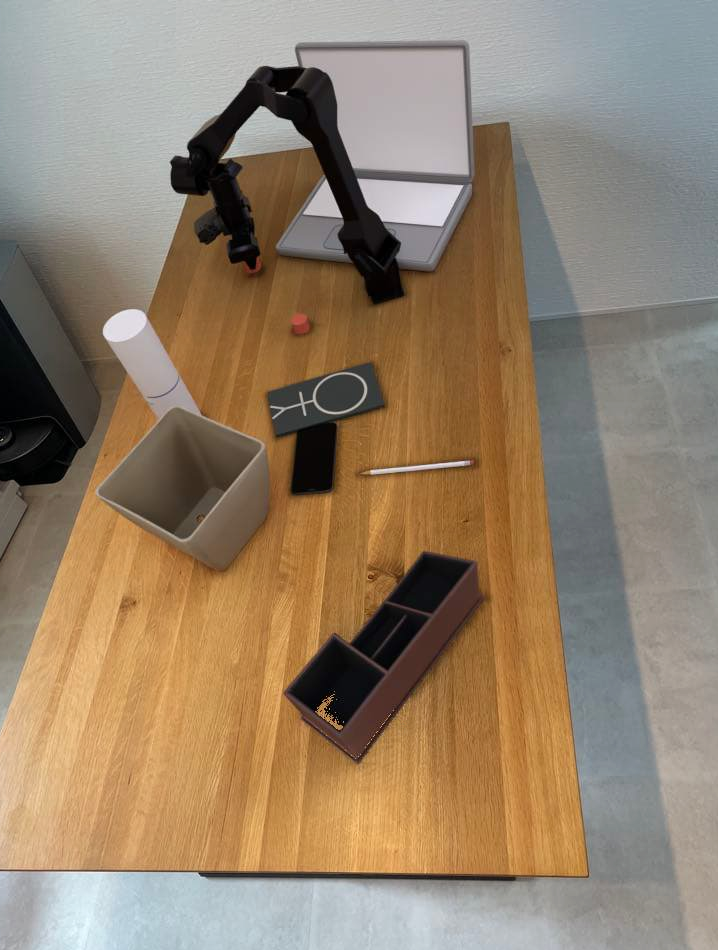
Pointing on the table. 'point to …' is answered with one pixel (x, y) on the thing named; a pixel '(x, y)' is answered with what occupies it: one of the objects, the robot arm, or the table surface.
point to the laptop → (394, 145)
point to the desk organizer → (386, 653)
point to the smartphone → (314, 460)
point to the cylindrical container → (147, 362)
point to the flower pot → (193, 486)
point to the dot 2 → (300, 323)
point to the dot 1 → (253, 269)
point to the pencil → (419, 467)
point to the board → (324, 399)
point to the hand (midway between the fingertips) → (252, 263)
